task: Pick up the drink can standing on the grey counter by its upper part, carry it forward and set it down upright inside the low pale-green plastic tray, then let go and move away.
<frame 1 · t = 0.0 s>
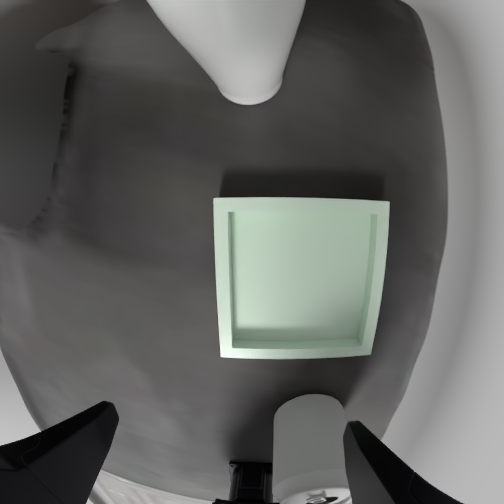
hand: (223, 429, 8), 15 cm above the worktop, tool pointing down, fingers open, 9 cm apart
drinking glass: (249, 79, 19), on the worktop
can: (308, 411, 25), on the worktop
tray: (300, 278, 22), on the worktop
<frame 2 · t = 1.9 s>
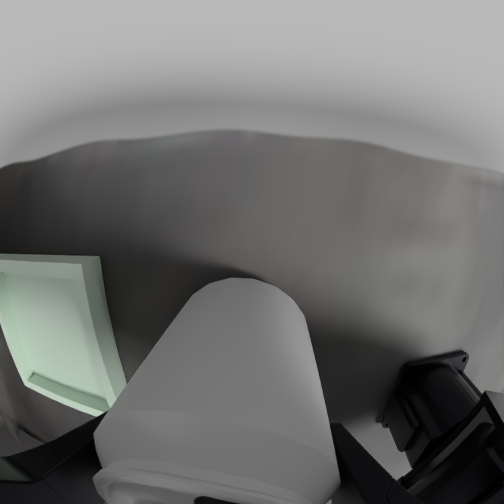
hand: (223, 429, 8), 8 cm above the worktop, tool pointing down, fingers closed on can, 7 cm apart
can: (243, 331, 16), on the worktop, touching gripper
tray: (55, 332, 17), on the worktop
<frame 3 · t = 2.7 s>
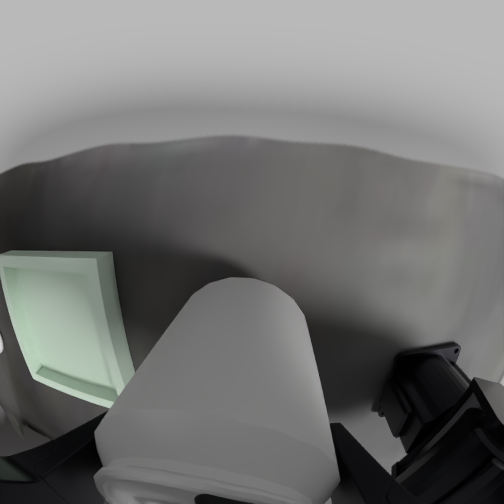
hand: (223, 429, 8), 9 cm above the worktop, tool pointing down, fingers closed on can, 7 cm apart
can: (243, 331, 16), point 1 cm above the worktop, touching gripper
tray: (65, 325, 18), on the worktop
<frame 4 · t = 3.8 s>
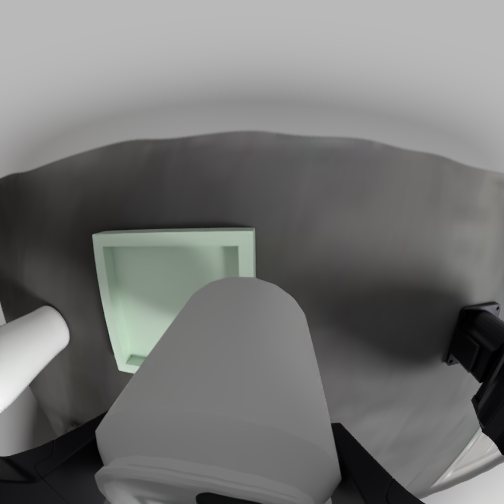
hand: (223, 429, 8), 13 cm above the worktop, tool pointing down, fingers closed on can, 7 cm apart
drinking glass: (56, 324, 24), on the worktop
can: (244, 330, 16), point 6 cm above the worktop, touching gripper
tray: (178, 306, 22), on the worktop
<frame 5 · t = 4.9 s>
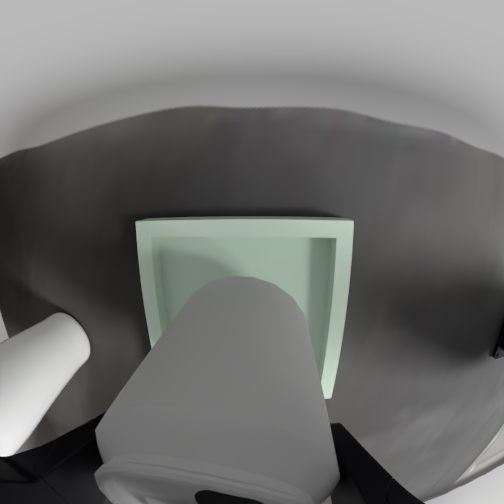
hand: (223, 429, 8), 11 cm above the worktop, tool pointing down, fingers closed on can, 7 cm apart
drinking glass: (72, 335, 21), on the worktop
can: (243, 329, 16), point 3 cm above the worktop, touching gripper
tray: (244, 311, 19), on the worktop
when the fingers open (9 cm above the worktop, at t = 5.9 s): can stays where it is, resting on tray.
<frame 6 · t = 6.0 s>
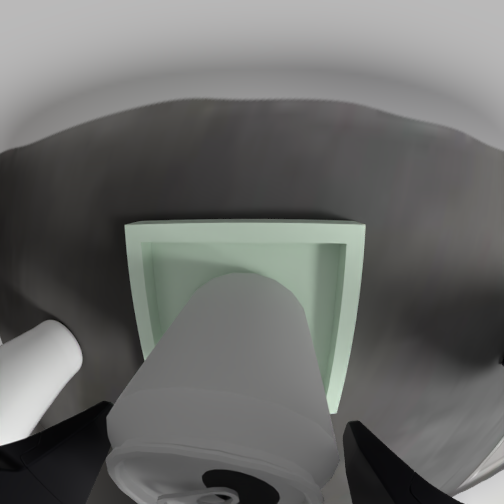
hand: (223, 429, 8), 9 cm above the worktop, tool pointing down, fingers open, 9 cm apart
drinking glass: (64, 342, 19), on the worktop
can: (245, 324, 17), resting on tray
tray: (244, 322, 17), on the worktop
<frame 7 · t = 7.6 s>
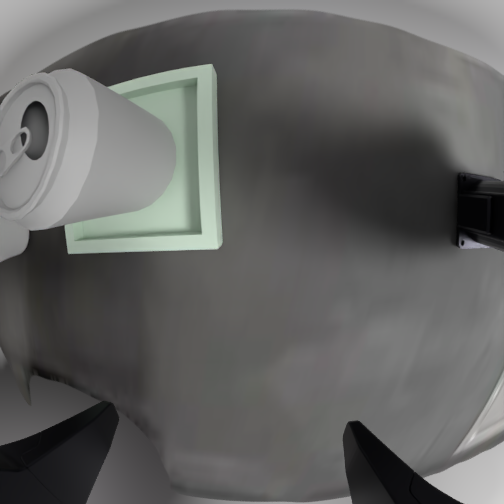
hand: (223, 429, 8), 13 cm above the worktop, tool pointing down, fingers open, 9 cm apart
drinking glass: (19, 229, 21), on the worktop
can: (135, 162, 19), resting on tray
tray: (137, 163, 19), on the worktop
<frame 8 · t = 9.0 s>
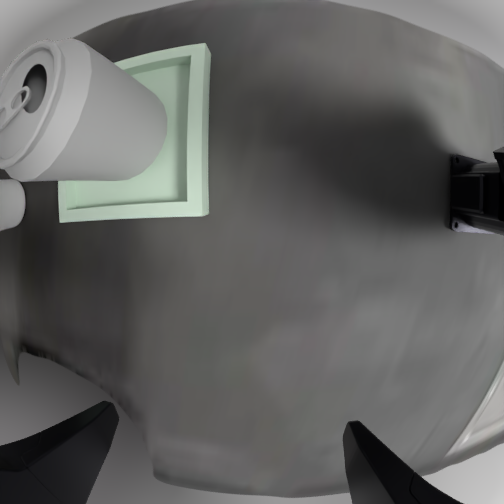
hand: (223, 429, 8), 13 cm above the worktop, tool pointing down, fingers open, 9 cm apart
drinking glass: (16, 202, 21), on the worktop
can: (129, 135, 18), resting on tray
tray: (130, 136, 19), on the worktop
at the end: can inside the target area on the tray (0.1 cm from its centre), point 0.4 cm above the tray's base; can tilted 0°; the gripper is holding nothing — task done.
